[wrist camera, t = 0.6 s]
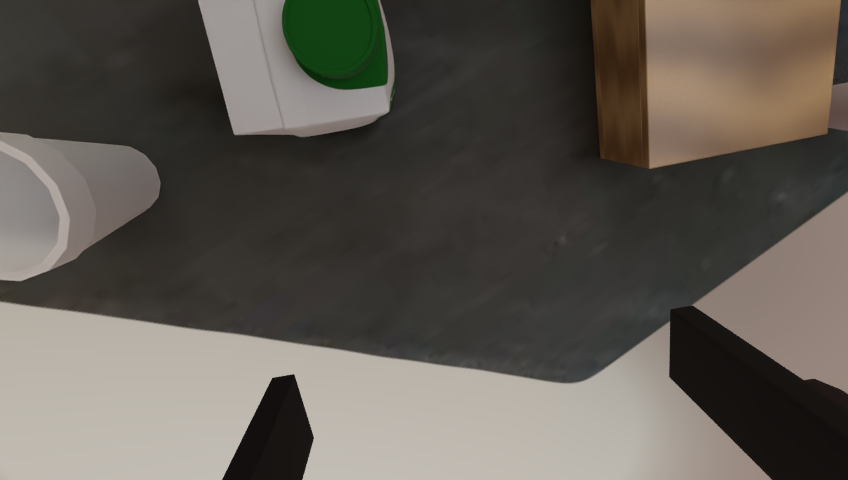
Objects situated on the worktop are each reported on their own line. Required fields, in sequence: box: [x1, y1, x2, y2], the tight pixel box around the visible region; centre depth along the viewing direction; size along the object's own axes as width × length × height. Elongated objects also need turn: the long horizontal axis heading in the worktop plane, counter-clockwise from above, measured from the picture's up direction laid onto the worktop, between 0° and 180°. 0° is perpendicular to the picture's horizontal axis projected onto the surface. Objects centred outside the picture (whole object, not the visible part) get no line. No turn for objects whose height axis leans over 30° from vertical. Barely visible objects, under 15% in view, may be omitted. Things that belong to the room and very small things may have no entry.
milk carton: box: [198, 0, 395, 137], centre depth 27 cm, size 9×9×20 cm
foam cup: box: [0, 132, 161, 281], centre depth 32 cm, size 10×9×13 cm
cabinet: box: [591, 0, 841, 169], centre depth 33 cm, size 15×14×8 cm
